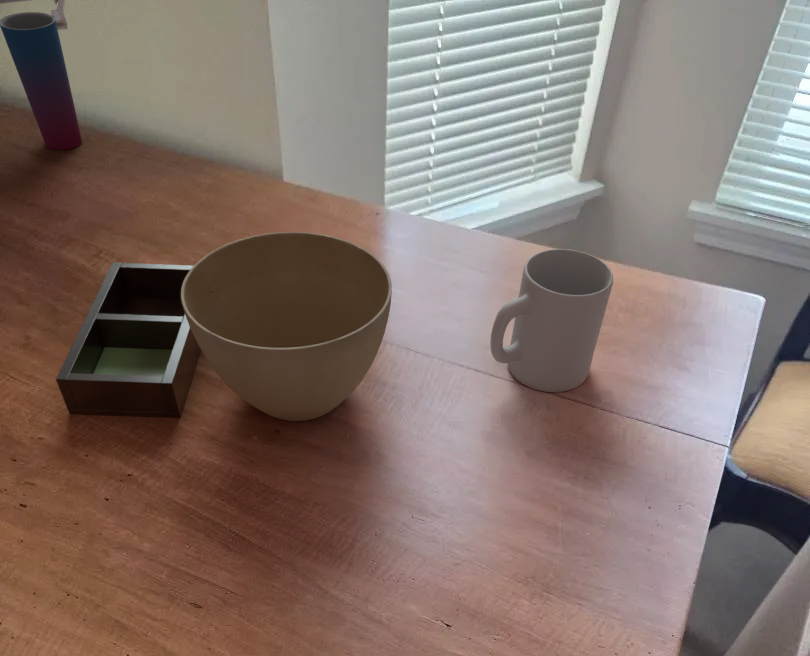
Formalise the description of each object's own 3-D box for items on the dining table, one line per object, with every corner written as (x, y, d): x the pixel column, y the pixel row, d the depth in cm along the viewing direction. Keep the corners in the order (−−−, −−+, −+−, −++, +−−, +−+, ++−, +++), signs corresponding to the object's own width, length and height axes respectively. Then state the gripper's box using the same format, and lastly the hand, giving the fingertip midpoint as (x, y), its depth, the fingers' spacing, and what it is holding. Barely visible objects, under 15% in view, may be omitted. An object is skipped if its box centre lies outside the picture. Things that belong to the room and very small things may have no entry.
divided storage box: (69, 413, 71) (55, 379, 68) (122, 295, 84) (112, 262, 81) (180, 417, 71) (171, 383, 68) (216, 299, 84) (210, 265, 81)
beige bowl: (219, 338, 80) (199, 228, 70) (389, 342, 80) (392, 234, 71) (190, 456, 68) (161, 344, 59) (388, 460, 69) (391, 350, 59)
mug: (555, 334, 82) (577, 240, 74) (605, 378, 78) (633, 283, 69) (463, 365, 78) (474, 268, 70) (509, 413, 74) (527, 316, 65)
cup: (87, 130, 111) (54, 10, 99) (89, 150, 107) (55, 27, 95) (38, 134, 109) (-1, 13, 98) (39, 155, 105) (-2, 31, 93)
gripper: (65, -68, 105) (103, 35, 107) (-95, -55, 98) (-51, 55, 100) (63, -102, 99) (103, 7, 101) (-107, -91, 92) (-60, 27, 94)
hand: (26, 31), depth 101 cm, fingers open, 8 cm apart
